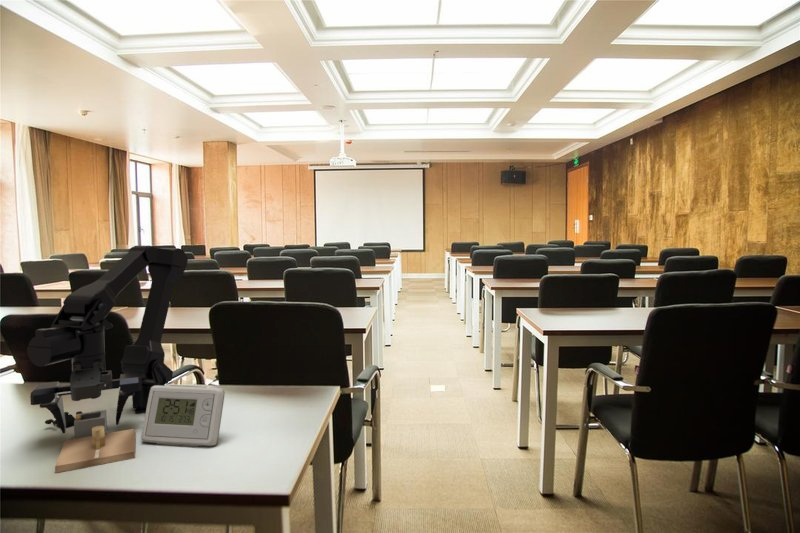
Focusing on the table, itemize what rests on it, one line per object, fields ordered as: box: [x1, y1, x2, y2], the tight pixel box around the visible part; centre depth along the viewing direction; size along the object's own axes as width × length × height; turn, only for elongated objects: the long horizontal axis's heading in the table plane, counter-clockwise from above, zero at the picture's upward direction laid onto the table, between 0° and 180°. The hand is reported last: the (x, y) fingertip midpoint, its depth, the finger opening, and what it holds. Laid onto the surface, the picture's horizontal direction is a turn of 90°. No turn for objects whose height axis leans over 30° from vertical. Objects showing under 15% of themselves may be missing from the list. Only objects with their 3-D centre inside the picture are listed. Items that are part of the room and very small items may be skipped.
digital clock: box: [140, 384, 226, 447], centre depth 95 cm, size 16×9×11 cm, turn 71°
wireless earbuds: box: [44, 411, 83, 429], centre depth 103 cm, size 7×2×5 cm
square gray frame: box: [73, 409, 108, 439], centre depth 98 cm, size 5×5×5 cm
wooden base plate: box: [54, 426, 137, 474], centre depth 90 cm, size 12×12×5 cm
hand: (91, 428), depth 98 cm, fingers open, 9 cm apart
